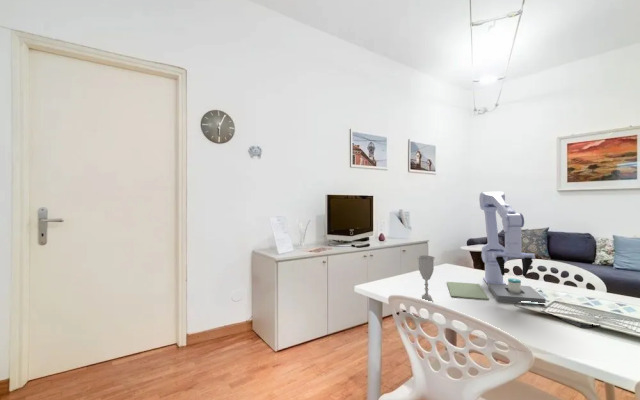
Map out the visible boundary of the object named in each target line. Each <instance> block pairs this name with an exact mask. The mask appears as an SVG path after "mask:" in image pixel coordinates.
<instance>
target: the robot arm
mask: <svg viewBox="0 0 640 400" xmlns="http://www.w3.org/2000/svg"><path fill="white" fill-rule="evenodd" d="M478 198H479V200H478V201H479V207H480V210H483V213H484V221H485V230H486V240H487V241H486V242H487V243H486V244H485V245H483V246H482V247H481V255H480V256H481V259H482V262H483V263H484V264H485V265H484V274H485V275H484V276H483V277H482V278H483V280H484V281H485V282H486V283H487V284H488V285H489V284H504V285H507V282H505V281H504V276H505V264H506V263H507V261H508V259H521V263H522V264H521V265H522V269H521V270H522V272H521V273H522V274H521V275H522V276H523V277H525V278H526V277H527V276H528V275H527V274H528V271H529V268H530V266H531V265H532V264H533V261H534V260H536V254H535V253H531V252H529V253H528V252H522V251H523V250H522V228H523V227H524V225H525V217H524V215H523V214H522V213H521V212H516V211H515V209H514V208H513V207H512V205H510V204H509V203H508V204H507V203H506V195H505V193H504V191H487V192H485V191H481V192H480V194H479V197H478ZM497 213H498V215H499V217H500V218H501V223H502V229H503V232H504V245H502V244H500V242H499V234H498V233H499V232H498V231H499V230H498V221H497Z"/></svg>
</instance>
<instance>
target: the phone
mask: <svg viewBox="0 0 640 400" xmlns="http://www.w3.org/2000/svg"><path fill="white" fill-rule="evenodd" d="M561 320H562V321H564V322H567V323H568V324H572V325H574V326H576V327H579V328H583V329H585V328H593V327H592V325H591V326H590V325H588V324H583V323H579V322H574V321H571V320H567V319H561Z"/></svg>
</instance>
